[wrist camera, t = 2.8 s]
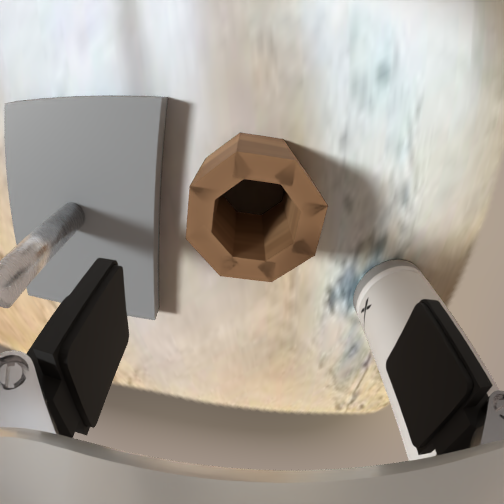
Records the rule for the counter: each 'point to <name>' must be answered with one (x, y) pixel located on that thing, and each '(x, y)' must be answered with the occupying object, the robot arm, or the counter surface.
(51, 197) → the rod board
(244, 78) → the counter surface
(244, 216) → the walnut bead
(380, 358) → the travel mug
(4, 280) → the metal rod
